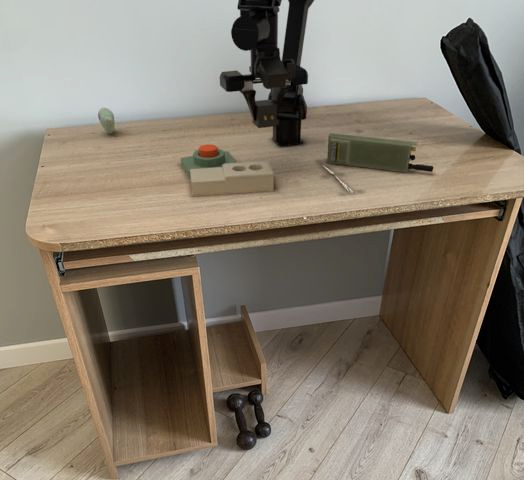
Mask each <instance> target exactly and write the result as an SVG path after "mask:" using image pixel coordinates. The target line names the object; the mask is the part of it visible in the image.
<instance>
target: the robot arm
mask: <svg viewBox="0 0 524 480" xmlns="http://www.w3.org/2000/svg"><path fill="white" fill-rule="evenodd" d="M287 1H288V10H287V17H286V26H285V33H284V41H283V49H282V56H281V51H280V47H279V46H278V45H279V43H278V42H279V41H278V40H279V39H278V38H279V33H278V32H279V12H280V6H281V5H282V2H283V0H238V1H237V5H236V7H237V11H238V10H239V17H237V18H235V20H234V22H233V24H232V26H231V29H230V35H231V36H230V37H231V39H232V42H233V43H234V45H235V46H236V47H237V48H238V49H239V50H241V51H244V52H247V51H249V52H250V66H249V70H248V71H249V74H242V73H241V72H240V71H238V70H228V71H227V70H226V71H221V73H220V75H219V86H220V87H221V88H222V90H224V91H225V92H227V93H235V92H239V93H240V94H241V95H243V97H244V99H245V102H246V105H247V107H248V110H249V113H250V115H251V118H253V120H254V121H256V104H255V101H256V95H257V91H256V90H255V88H254V85H256V84H262V86H263V88H264V89H266V90H270V92H269V93H268V96H267V100H269V99H270V100H271V101H273V102H274V103H275V104H277V126H273V127H272V140H273V141H274V142H275V144H277V145H278V146H279V147H286V146H295V145H301V144H304V140H303V139H302V138H301V135H302V121H303V120H306V119H307V113H308V110H307V109H308V105H307V103H306V100H305V96H304V87H303V86H304V85H308V83H309V73H308V71H307V68H306V69H305V68H304V67H303V66H301V63H302V56H303V50H304V42H305V35H306V29H307V21H308V14H309V9H310V7H311V6H312V5H313V3H314V1H315V0H287Z"/></svg>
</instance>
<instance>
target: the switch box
mask: <svg viewBox="0 0 524 480" xmlns="http://www.w3.org/2000/svg"><path fill="white" fill-rule="evenodd" d="M226 163H238V162H237V160H236V159H235V158H234V157H233V155H232V153H230V152H229V151H228V150H227V151H224V150H223V149H221V148H218V156H215V157H210V158H205V157H201V156H200V155H199V149H197V150H195V151H193V153H192V155H191V156H184V157H180V165H181V166H182V168H183V170H184V172H185V173H186V175H187V177H188V178H189V179H190V180H191V176H190V169H201V168H217V167H222V165H223V164H226Z"/></svg>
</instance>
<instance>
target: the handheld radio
mask: <svg viewBox="0 0 524 480" xmlns="http://www.w3.org/2000/svg"><path fill="white" fill-rule="evenodd" d="M327 141H328V142H327V155H326V163H327V164H333V165H340V166H349V167H356V168H364V169H365V168H366V169H372V170H373V169H374V170H380V171H381V170H382V171H388V172H389V171H390V172H397V173H409V174H410V173H412V172H413V170H415V171H422V172H428V173H432V172H433V171H434V166H433V165H427V164H418V163H417V164H413V163H410V161H412V162H413V161H415V160H416V155H415V154H412V152H416V151H417V147H416V146H417V145H418V142H416V141H410V140H409V141H408V140H399V139H391V138H380V137H371V136H362V135H352V134H345V133H343V134H342V133H333V132H330V133H329V135H328V139H327Z"/></svg>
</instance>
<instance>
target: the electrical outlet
mask: <svg viewBox="0 0 524 480" xmlns="http://www.w3.org/2000/svg"><path fill="white" fill-rule="evenodd" d="M190 176H191V179H190V185H191V195H192V197H199V196H200V197H201V196H212V195H215V196H216V195H229V194H244V193H256V192H259V193H260V192H272V191H273V192H274V190H275V189H274V188H275V178H274V177H275V173H274V171H273V168H272V165H271V163H270V161H269V160H260V161H244V162H237V163H226V164H223V165H222V167H217V168H201V169H190Z"/></svg>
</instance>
